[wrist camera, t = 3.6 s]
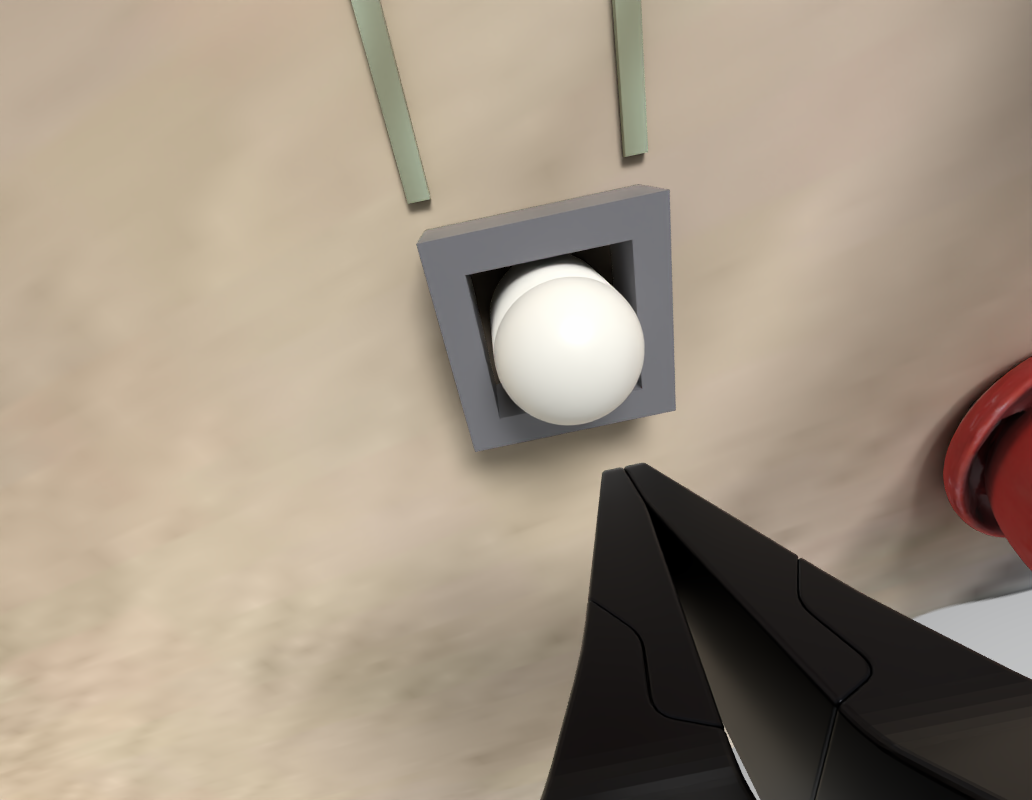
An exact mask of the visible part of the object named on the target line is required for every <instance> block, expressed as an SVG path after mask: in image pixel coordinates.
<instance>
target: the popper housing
mask: <svg viewBox="0 0 1032 800" xmlns="http://www.w3.org/2000/svg"><path fill="white" fill-rule="evenodd" d="M416 245H417V248H418V252H419V255H420V259H421V262H422V266H423V269H424V273H425V276H426V280H427V283H428V287H429V291H430V294H431V298H432V301H433V305H434V308H435V312H436V315H437V319H438V322H439V326H440V329H441V333H442V337H443V340H444V344H445V347H446V351H447V354H448V358H449V361H450V365H451V368H452V372H453V375H454V379H455V382H456V386H457V390H458V393H459V397H460V400H461V404H462V407H463V411H464V414H465V418H466V421H467V425H468V428H469V432H470V436H471V439H472V443H473V446H474V450H475V452H477V451H482V450H487V449H492V448H497V447H502V446H506V445H511V444H516V443H521V442H526V441H530V440H535V439H540V438H545V437H550V436H555V435H559V434H564V433H569V432H574V431H579V430H584V429H588V428H593V427H598V426H603V425H608V424H613V423H617V422H622V421H627V420H632V419H637V418H641V417H646V416H651V415H656V414H661V413H666V412H670V411H675V410H676V404H675V368H674V332H673V297H672V261H671V225H670V190H669V189H663V188H657V187H651V186H645V185H639V184H638V185H633V186H629V187H624V188H619V189H615V190H610V191H605V192H601V193H596V194H591V195H587V196H582V197H577V198H573V199H568V200H563V201H559V202H554V203H549V204H545V205H540V206H536V207H531V208H526V209H522V210H517V211H512V212H508V213H503V214H498V215H494V216H489V217H484V218H480V219H475V220H470V221H466V222H461V223H456V224H452V225H447V226H442V227H438V228H433V229H428V230H425V231H424V233H423V234H422V236H421V237H420V239H419V240H418V242H417V244H416ZM605 245H610V253H611V264H612V275H613V286H614V288H615V289H616V290H617V291H618V292H619V293H620V294H621V295H622V296H623V297H624V298H625V299H626V300H627V302H628V303H629V304H630V305H631V307H632V308H633V310H634V312H635V313H636V315H637V317H638V320H639V322H640V325H641V328H642V332H643V336H644V362H643V367H642V370H641V374H640V376H639V378H638V381H637V383H636V385H635V387H634V389H633V390H632V392H631V393H630V394H629V396H628V397H627V398H626V399H625V400H624V402H623V403H622V404H621V405H619V406H618V407H617V408H616V409H615V410H613V411H612V412H610V413H609V414H607V415H605V416H603V417H602V418H600V419H597V420H594V421H592V422H588V423H585V424H579V425H557V424H552V423H548V422H545V421H542V420H539V419H537V418H535V417H533V416H531V415H530V414H528V413H526V412H525V411H524V410H522V409H521V408H520V407H519V406H518V405H517V404H515V403H514V401H513V400H512V399H511V398H510V397H509V395H508V394H507V392H506V391H505V389H504V388H503V386H502V384H501V383H500V384H496V381H495V377H494V373H493V369H492V364H491V360H490V356H489V352H488V347H487V343H486V339H485V335H484V330H483V326H482V322H481V318H480V314H479V309H478V305H477V301H476V297H475V292H474V288H473V284H472V280H471V275H470V274H474V273H478V272H483V271H488V270H492V269H497V268H502V267H506V266H511V265H516V264H521V263H525V262H530V261H535V260H539V259H544V258H549V257H553V256H558V255H563V254H567V253H572V252H577V251H582V250H586V249H591V248H596V247H600V246H605Z"/></svg>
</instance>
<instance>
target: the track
mask: <svg viewBox="0 0 1032 800" xmlns="http://www.w3.org/2000/svg"><path fill="white" fill-rule="evenodd" d="M351 2H352V6H353V9H354V13H355V16H356V20H357V24H358V27H359V31H360V34H361V38H362V41H363V45H364V49H365V52H366V56H367V59H368V63H369V66H370V70H371V74H372V77H373V81H374V84H375V88H376V91H377V95H378V99H379V102H380V106H381V109H382V113H383V116H384V120H385V124H386V127H387V131H388V134H389V138H390V141H391V145H392V149H393V152H394V156H395V159H396V163H397V166H398V170H399V174H400V177H401V181H402V184H403V188H404V191H405V195H406V199H407V202H408V204H410V203H414V202H419V201H424V200H428V199H431V197H430V193H429V189H428V186H427V182H426V178H425V174H424V170H423V166H422V162H421V158H420V154H419V150H418V147H417V143H416V139H415V135H414V131H413V127H412V123H411V119H410V115H409V111H408V108H407V104H406V100H405V96H404V92H403V88H402V84H401V80H400V76H399V72H398V69H397V65H396V61H395V57H394V53H393V49H392V45H391V41H390V37H389V34H388V30H387V26H386V22H385V18H384V14H383V10H382V6H381V2H380V0H351ZM612 6H613V20H614V34H615V49H616V63H617V77H618V92H619V106H620V120H621V135H622V149H623V157H627V156H632V155H637V154H641V153H646V152H648V141H647V120H646V98H645V77H644V55H643V34H642V13H641V0H612Z"/></svg>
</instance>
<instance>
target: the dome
mask: <svg viewBox="0 0 1032 800" xmlns="http://www.w3.org/2000/svg"><path fill="white" fill-rule="evenodd" d="M490 325H491V335H492V344H493V353H494V361H495V367H496V370H497V374H498V377H499V380H500V382H501V384H502V386H503V388H504V389H505V391H506V392H507V394H508V395H509V397H510V398H511V399H512V400H513V401H514V403H515V404H517V405H518V406H519V407H520V408H521V409H522V410H524V411H525V412H526V413H528V414H530V415H531V416H533V417H535V418H537V419H539V420H542V421H545V422H548V423H552V424H557V425H579V424H585V423H588V422H592V421H594V420H597V419H600V418H602V417H603V416H605V415H607V414H609V413H610V412H612V411H613V410H615V409H616V408H617V407H618V406H619V405H621V404H622V403H623V402H624V400H625V399H626V398H627V397H628V396H629V394H630V393H631V392H632V390H633V389H634V387H635V385H636V383H637V381H638V378H639V376H640V374H641V370H642V367H643V362H644V336H643V332H642V328H641V325H640V322H639V320H638V317H637V315H636V313H635V312H634V310H633V308H632V307H631V305H630V304H629V303H628V302H627V300H626V299H625V298H624V297H623V296H622V295H621V294H620V293H619V292H618V291H617V290H616V289H615V288H614V287H612V286H611V285H610V284H609V283H608V282H607V281H606V280H605V279H604V278H603V277H602V276H601V275H600V274H598V273H597V272H596V271H595V270H594V269H593V268H592V267H591V266H590V265H588V264H587V263H586V262H584V261H583V260H581V259H579V258H577V257H575V256H573V255H569V254H563V255H558V256H553V257H549V258H544V259H539V260H535V261H530V262H525V263H521V264H516V265H514V266H513V267H512V268H510V269H509V270H508V271H507V272H506V274H505V275H504V276H503V277H502V279H501V280H500V281H499V283H498V285H497V287H496V288H495V291H494V293H493V296H492V300H491V304H490Z"/></svg>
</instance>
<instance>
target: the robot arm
mask: <svg viewBox="0 0 1032 800" xmlns="http://www.w3.org/2000/svg"><path fill="white" fill-rule="evenodd" d="M723 724H724V725H723ZM724 726H725V728H726V730H727V732H728V734H729V736H730V738H731V740H732V742H733V745H734V747H735V748H736V751H737V753H738V755H739V756H740V759H741V761H742V763H743V765H744V767H745V769H746V771H747V773H748V775H749V777H750V779H751V781H752V783H753V785H754V787H755V789H756V791H757V794H758V796H759V798H760V799H761V800H1032V679H1030V678H1028V677H1025V676H1023V675H1021V674H1019V673H1017V672H1015V671H1013V670H1011V669H1009V668H1007V667H1005V666H1003V665H1001V664H999V663H997V662H995V661H993V660H991V659H989V658H987V657H985V656H983V655H981V654H979V653H977V652H975V651H973V650H971V649H969V648H967V647H965V646H963V645H962V644H959V643H958V642H956V641H953V640H951V639H950V638H948V637H946V636H943V635H942V634H940V633H938V632H936V631H934V630H932V629H930V628H928V627H926V626H924V625H922V624H920V623H918V622H916V621H914V620H912V619H910V618H908V617H906V616H904V615H902V614H900V613H899V612H897V611H895V610H893V609H891V608H889V607H887V606H885V605H883V604H882V603H880V602H878V601H876V600H874V599H872V598H870V597H868V596H866V595H865V594H863V593H861V592H859V591H857V590H855V589H854V588H852V587H850V586H849V585H847V584H845V583H843V582H842V581H840V580H838V579H836V578H835V577H833V576H831V575H830V574H828V573H826V572H824V571H823V570H821V569H819V568H818V567H816V566H814V565H813V564H811V563H809V562H808V561H806V560H805V559H803V558H800V559H798V556H797V555H796V554H794V553H793V552H791V551H789V550H788V549H786V548H784V547H783V546H781V545H779V544H778V543H776V542H775V541H773V540H771V539H770V538H768V537H766V536H765V535H763V534H761V533H760V532H758V531H756V530H755V529H753V528H751V527H750V526H748V525H747V524H745V523H743V522H742V521H740V520H738V519H737V518H735V517H733V516H732V515H730V514H728V513H727V512H725V511H723V510H722V509H720V508H718V507H717V506H715V505H714V504H712V503H710V502H709V501H707V500H705V499H704V498H702V497H700V496H699V495H697V494H695V493H694V492H692V491H690V490H689V489H687V488H686V487H684V486H682V485H681V484H679V483H677V482H676V481H674V480H672V479H671V478H669V477H667V476H666V475H664V474H662V473H661V472H659V471H658V470H656V469H654V468H653V467H651V466H649V465H648V464H646V463H639V464H634V465H629V466H626V467H625V468H624V469H623V468H615V469H610V470H605V471H604V472H603V473H602V479H601V488H600V497H599V506H598V515H597V524H596V533H595V542H594V551H593V560H592V569H591V578H590V587H589V596H588V604H587V612H586V621H585V627H584V634H583V640H582V647H581V652H580V657H579V661H578V666H577V670H576V674H575V679H574V683H573V687H572V690H571V694H570V698H569V702H568V705H567V709H566V713H565V717H564V720H563V724H562V728H561V732H560V735H559V739H558V743H557V746H556V750H555V754H554V758H553V761H552V765H551V768H550V772H549V775H548V778H547V781H546V785H545V788H544V791H543V794H542V796H541V799H540V800H756V798H755V796H754V795H753V793H752V791H751V790H750V788H749V786H748V784H747V782H746V780H745V778H744V777H743V774H742V772H741V770H740V767H739V765H738V763H737V760H736V758H735V755H734V753H733V751H732V748H731V745H730V742H729V740H728V737H727V734H726V732H725V731H724Z"/></svg>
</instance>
